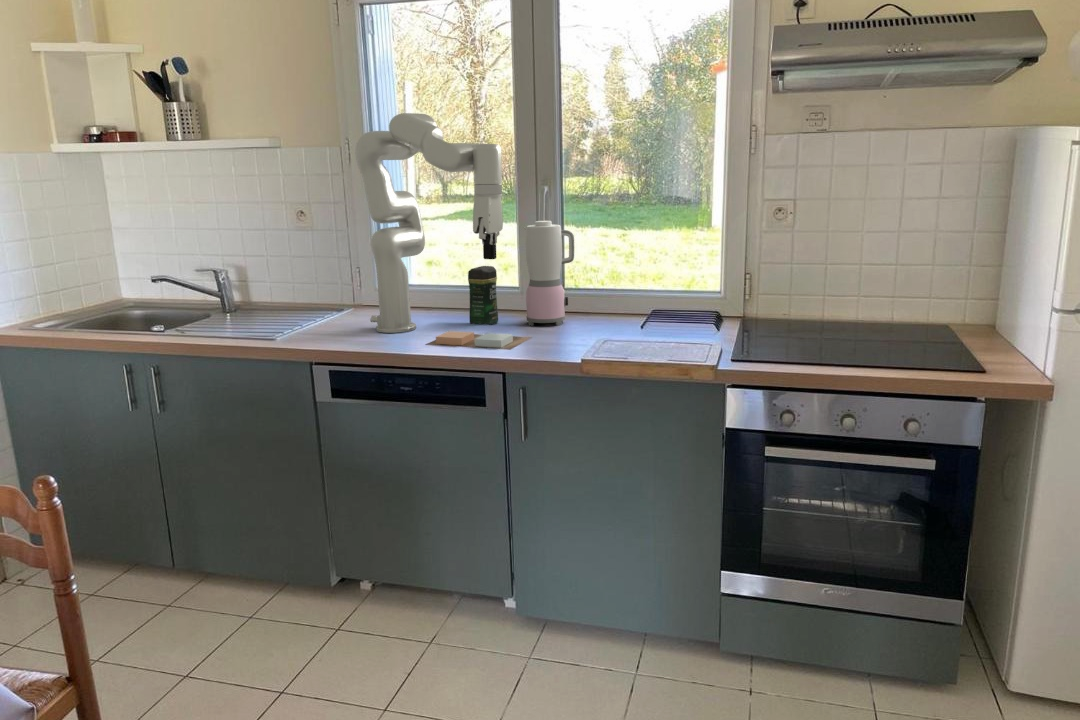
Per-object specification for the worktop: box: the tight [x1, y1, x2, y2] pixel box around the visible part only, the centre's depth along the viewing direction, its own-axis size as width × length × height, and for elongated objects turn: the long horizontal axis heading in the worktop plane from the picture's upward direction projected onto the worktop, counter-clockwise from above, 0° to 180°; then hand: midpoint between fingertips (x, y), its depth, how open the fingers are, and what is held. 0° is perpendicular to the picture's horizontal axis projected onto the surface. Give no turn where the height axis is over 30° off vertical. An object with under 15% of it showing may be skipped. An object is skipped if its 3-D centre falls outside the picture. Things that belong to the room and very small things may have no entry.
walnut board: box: [425, 333, 533, 350], centre depth 232 cm, size 26×16×1 cm, turn 69°
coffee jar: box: [467, 265, 499, 326], centre depth 258 cm, size 10×8×19 cm
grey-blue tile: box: [475, 332, 514, 348], centre depth 226 cm, size 8×2×8 cm
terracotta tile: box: [435, 330, 475, 345], centre depth 231 cm, size 8×2×8 cm
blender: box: [522, 220, 575, 326], centre depth 256 cm, size 16×12×32 cm
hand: (489, 258), depth 225 cm, fingers closed
